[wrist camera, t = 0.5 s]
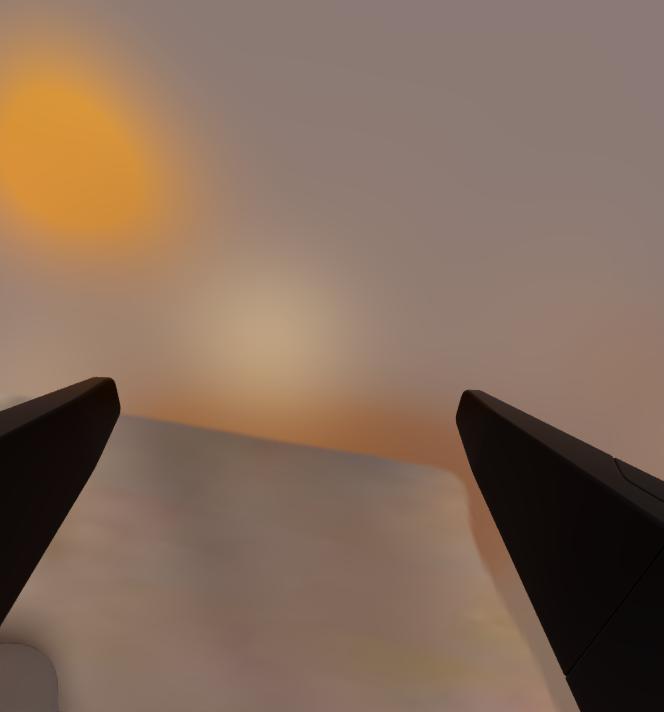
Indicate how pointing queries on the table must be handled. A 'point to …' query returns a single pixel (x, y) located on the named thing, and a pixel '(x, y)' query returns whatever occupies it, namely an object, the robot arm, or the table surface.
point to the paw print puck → (26, 680)
